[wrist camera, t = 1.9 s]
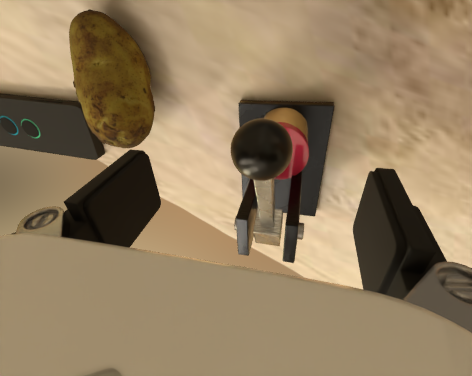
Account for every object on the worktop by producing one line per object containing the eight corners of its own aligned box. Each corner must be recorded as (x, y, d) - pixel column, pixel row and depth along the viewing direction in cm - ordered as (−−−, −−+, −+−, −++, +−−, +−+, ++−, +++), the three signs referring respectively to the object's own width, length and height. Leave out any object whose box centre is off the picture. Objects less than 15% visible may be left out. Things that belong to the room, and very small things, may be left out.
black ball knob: (233, 103, 13) (218, 153, 11) (297, 105, 12) (291, 159, 11) (255, 214, 25) (249, 246, 23) (288, 218, 24) (284, 251, 23)
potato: (159, 14, 26) (109, 17, 19) (171, 131, 33) (138, 161, 27) (87, 7, 27) (19, 9, 21) (115, 122, 35) (71, 148, 29)
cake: (257, 105, 28) (247, 124, 23) (312, 107, 26) (312, 127, 22) (257, 153, 31) (248, 177, 27) (306, 156, 30) (305, 182, 25)
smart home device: (-42, 92, 36) (78, 105, 32) (-29, 89, 38) (88, 101, 34) (-9, 145, 41) (98, 161, 37) (1, 140, 42) (106, 156, 39)
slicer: (240, 99, 29) (197, 158, 18) (333, 102, 27) (348, 170, 16) (244, 202, 38) (217, 284, 27) (315, 210, 35) (315, 302, 24)
